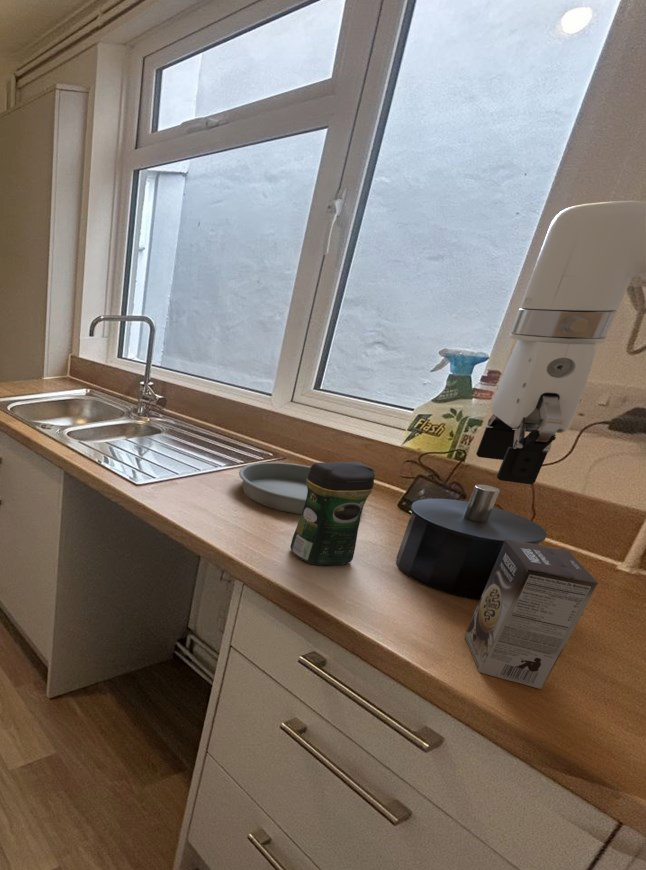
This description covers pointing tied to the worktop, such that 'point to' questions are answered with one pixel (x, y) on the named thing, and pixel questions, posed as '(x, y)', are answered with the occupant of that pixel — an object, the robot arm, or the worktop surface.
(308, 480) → the coffee jar
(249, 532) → the worktop surface
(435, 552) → the bin
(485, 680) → the worktop surface
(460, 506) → the bin lid
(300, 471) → the cake pan
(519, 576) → the coffee box
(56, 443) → the worktop surface
